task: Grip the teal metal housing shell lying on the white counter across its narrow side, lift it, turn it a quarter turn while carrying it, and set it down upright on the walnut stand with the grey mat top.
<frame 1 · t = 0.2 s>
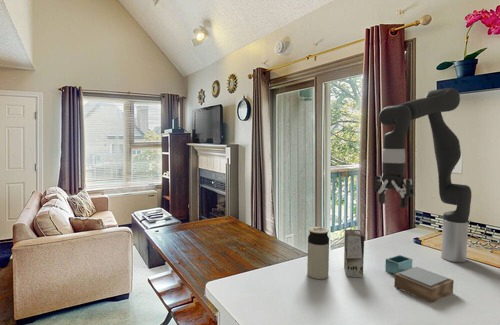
hand: (392, 205, 112), 28 cm above the worktop, tool pointing down, fingers open, 8 cm apart
travel mug: (317, 275, 118), on the worktop
coffee box: (353, 272, 121), on the worktop
stand: (423, 289, 107), on the worktop
housing: (398, 271, 122), on the worktop
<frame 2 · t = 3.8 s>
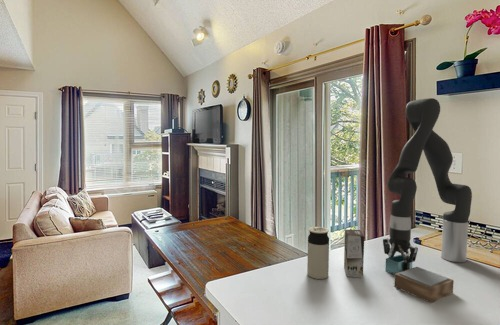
hand: (398, 268, 122), 1 cm above the worktop, tool pointing down, fingers closed on housing, 5 cm apart
housing: (398, 270, 122), on the worktop, touching gripper
everything else where it was.
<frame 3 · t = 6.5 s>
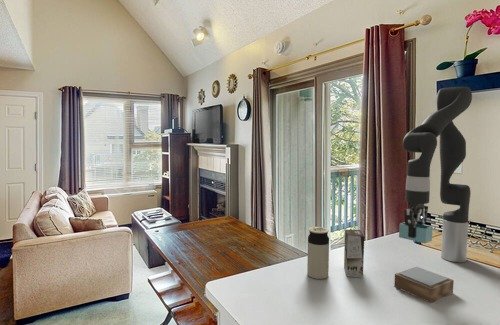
hand: (415, 235, 109), 18 cm above the worktop, tool pointing down, fingers closed on housing, 5 cm apart
housing: (415, 238, 109), point 17 cm above the worktop, touching gripper
everything else where it was.
when the fingers open (7 cm above the worktop, at t = 9.2 s): housing drops 1 cm, resting on stand.
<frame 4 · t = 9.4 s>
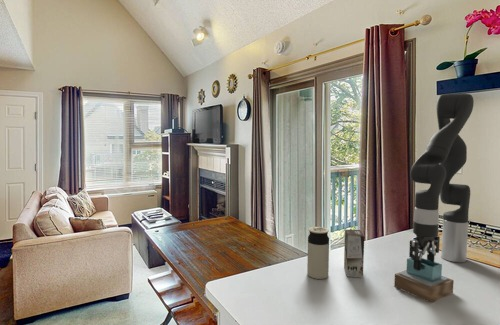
hand: (423, 267, 106), 8 cm above the worktop, tool pointing down, fingers open, 7 cm apart
housing: (423, 275, 107), point 5 cm above the worktop, touching stand
everything else where it was.
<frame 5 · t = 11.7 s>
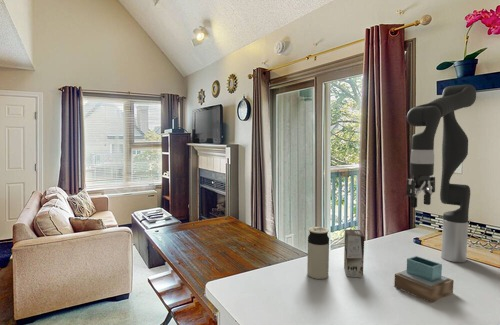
hand: (420, 205, 113), 28 cm above the worktop, tool pointing down, fingers open, 8 cm apart
nothing on the worktop moved.
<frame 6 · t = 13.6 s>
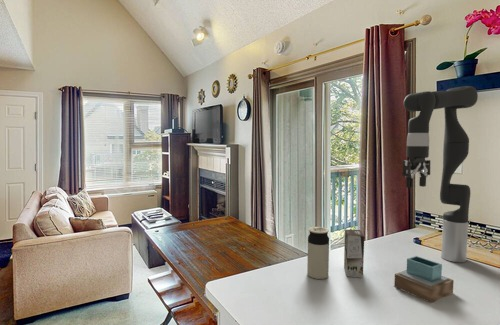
hand: (416, 187, 118), 34 cm above the worktop, tool pointing down, fingers open, 8 cm apart
nothing on the worktop moved.
at the end: housing inside the target area on the stand (0.0 cm from its centre), point 5.0 cm above the stand's base; housing tilted 0°; the gripper is holding nothing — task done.
